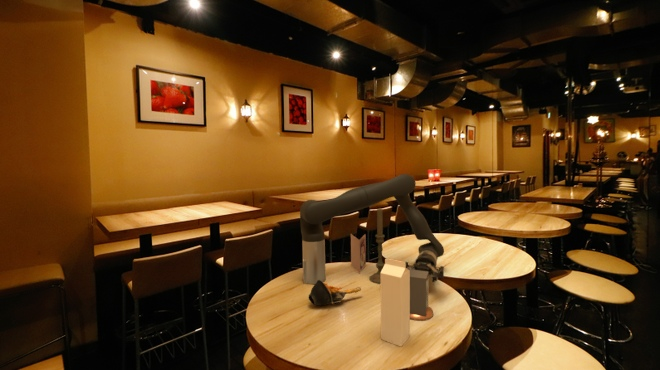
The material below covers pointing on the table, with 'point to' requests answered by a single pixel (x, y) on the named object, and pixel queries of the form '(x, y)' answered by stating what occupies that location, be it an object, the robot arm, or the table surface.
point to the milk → (395, 302)
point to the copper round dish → (422, 318)
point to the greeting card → (358, 253)
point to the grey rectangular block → (419, 292)
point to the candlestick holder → (379, 248)
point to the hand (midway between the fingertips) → (420, 277)
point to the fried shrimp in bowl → (328, 294)
